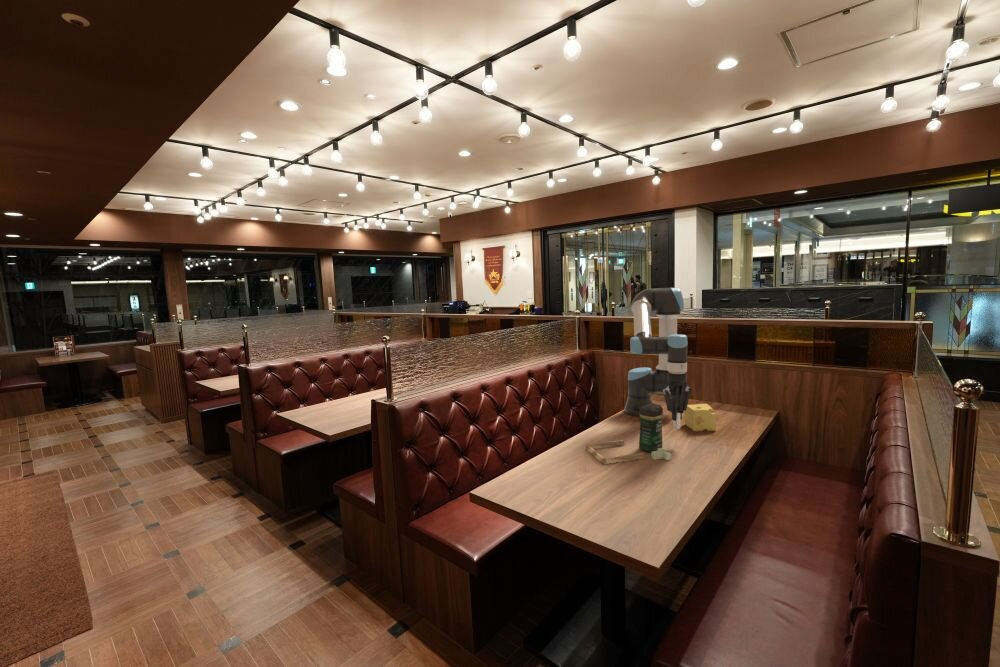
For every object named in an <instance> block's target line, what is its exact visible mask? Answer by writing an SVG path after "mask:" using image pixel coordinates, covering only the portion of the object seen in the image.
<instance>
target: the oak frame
mask: <svg viewBox="0 0 1000 667" xmlns="http://www.w3.org/2000/svg"><path fill="white" fill-rule="evenodd" d="M620 445H621V446H624V445H625V440H624V439H618V440H613V441H612V440H611V441H604V442H597V443H596V442H595V443H590V444H589V443H587V444H585V449H586V450H587V452H588V453H590V455H592V456H593V457H594V458H596V459H597V460H598V461H599V462H600V463H601V462H602V463H601V464H602V465H610V464H609V463H611V464H616V462H618V463H623V461H624V462H630V460H631V461H637V460H636V459H638V460H643V459H644V453H643V452H638V453H631V454H625V455H617V456H612V457H610V456H609V457H604V456H603V455H602V454H600V453H599V452H598V451H597V450H598V449H604V448H611V447H612V448H613V446H614V447H619V446H620ZM621 446H620V447H621Z"/></svg>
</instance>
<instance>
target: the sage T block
mask: <svg viewBox="0 0 1000 667" xmlns="http://www.w3.org/2000/svg"><path fill="white" fill-rule="evenodd" d="M671 453H672V452H669V451H668V450H666V449H664V448H663V447H662V448H659V449H657V451H654V452H650V454H651V455H650V457H651V459H653V460H660V459H663V460H666V461H670V460H672V454H671Z"/></svg>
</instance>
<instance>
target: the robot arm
mask: <svg viewBox="0 0 1000 667" xmlns="http://www.w3.org/2000/svg"><path fill="white" fill-rule="evenodd" d="M684 303H685V302H684V297H683V293H682V290H681V289H680V288H678V287H660V288H646V289H644V290H641V291H639V293H636V295H635V296H634V298H633V299H632V301H631V305H630V306H631V307H630V309H631V312H632V314H633V329H634V330H633V331H634V332H633V333H634V334H633V335H634V336H632V337H630V339H629V340H630V344H629V345H630V353H631V354H638V355H658V364H657V365H656V366H655V370H652V368H651V367H645V366H643V367H637V368H633V369H630V370H629V371H628V372H627V373H628V374H627V388H628V389H627V399H626V402H625V406H624V413H626V414H627V415H629V416H636V417H640V408H641V407H644V406H646V405H649V404H652V403H653V404H654V402H653V399H652V394H661V395H664V400H665V401H664V402H665V405H666V409H667V411H668V412H669V413H670V412H671V420H672V423H673V424H672V427H673V428H675V429H678V430H679V429H681V420H683V414H684V411H686V409H687V405H689V400H690V395H691V393H692V390H693V388H692V387H691V386H690V387H689V386H688V384H687V381H688V373H687V372H688V344H689V342H688V336H687V335H686V334H678V318H679V316H681V312H683V311H684V310H685V308H684V307H685V306H684V305H685V304H684ZM651 312H655V316H656V317H658V336H653V334H652V333H653V332H652V324H651V323H652V322H651Z"/></svg>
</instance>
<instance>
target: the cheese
mask: <svg viewBox="0 0 1000 667" xmlns="http://www.w3.org/2000/svg"><path fill="white" fill-rule="evenodd" d="M683 416H684V417H683V418H684V424H685V425H686V426H687V427H688V428H690V429H691V430H692V431H694V432H704V431H709V432H710V431H717V422H716V419H717V415H716V414H715V410H714V409H713V407H711V405H709V404H707V403H699V404H698V403H697V404H688V405H687V409H686V411H684V413H683Z"/></svg>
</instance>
